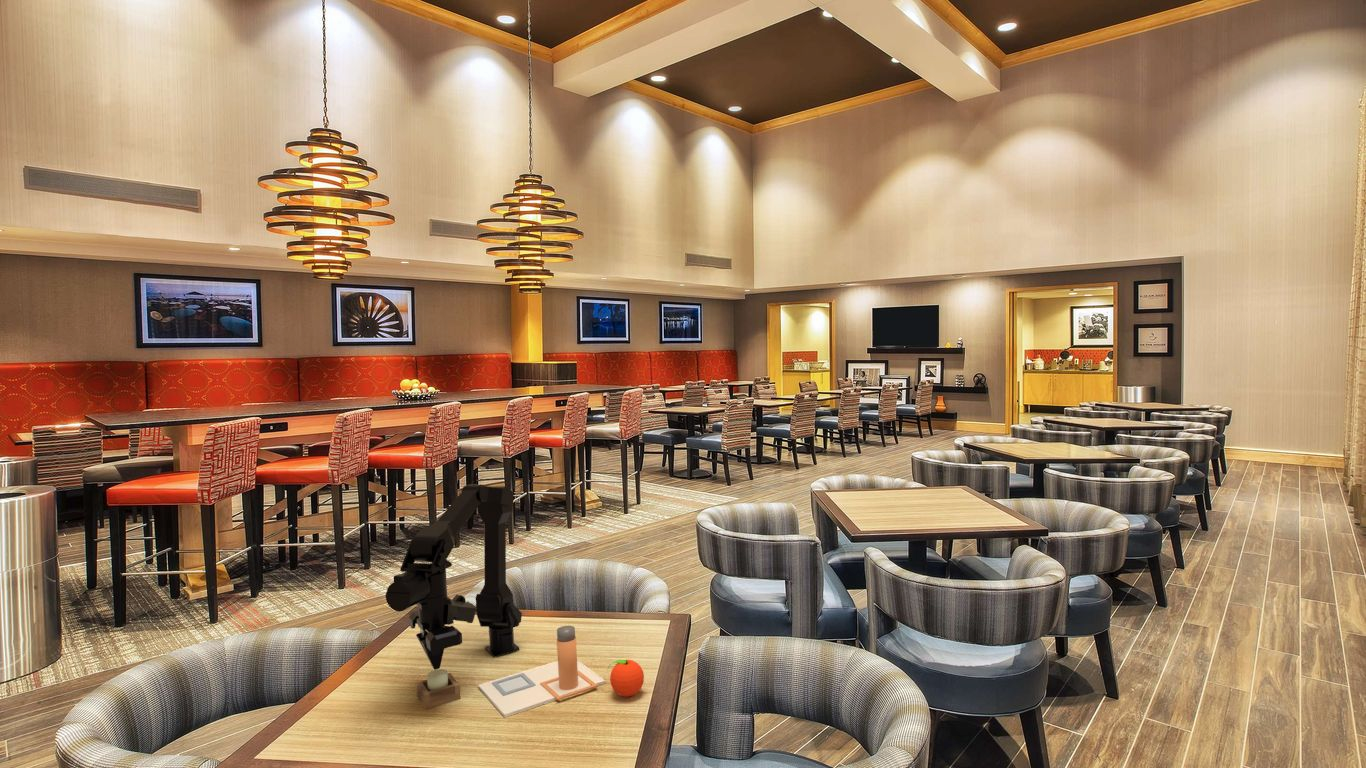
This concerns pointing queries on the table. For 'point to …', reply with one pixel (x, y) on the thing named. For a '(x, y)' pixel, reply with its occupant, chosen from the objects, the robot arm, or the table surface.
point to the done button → (437, 679)
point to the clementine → (626, 677)
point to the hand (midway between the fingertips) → (436, 668)
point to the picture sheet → (535, 688)
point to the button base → (438, 693)
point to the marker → (567, 658)
